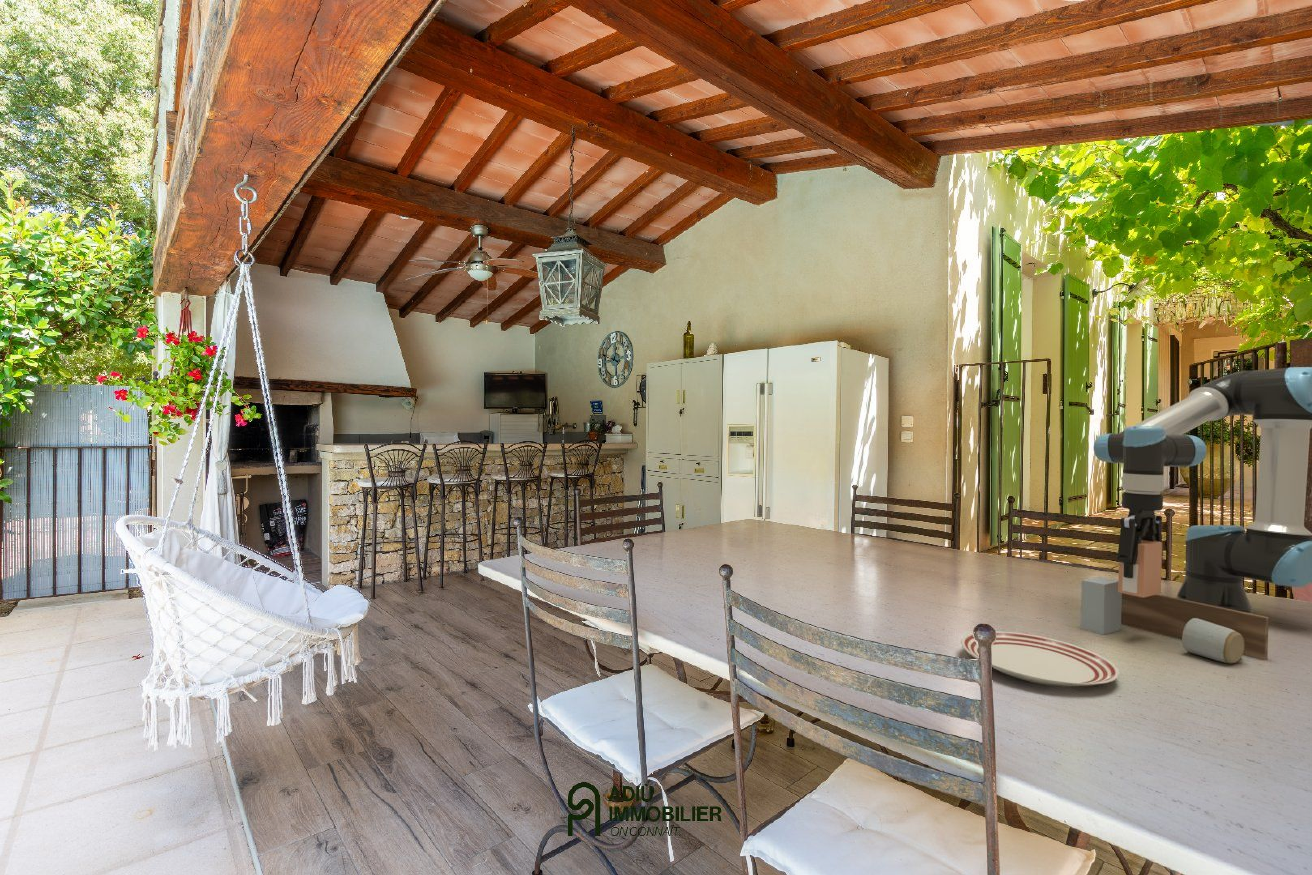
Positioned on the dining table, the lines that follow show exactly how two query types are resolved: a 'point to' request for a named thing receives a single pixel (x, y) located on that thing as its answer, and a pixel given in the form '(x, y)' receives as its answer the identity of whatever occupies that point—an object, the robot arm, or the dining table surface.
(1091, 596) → the light grey rectangular block
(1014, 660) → the dinner plate
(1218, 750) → the dining table surface
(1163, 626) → the brown wooden board
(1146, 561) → the tan rectangular block
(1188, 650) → the ceramic mug
